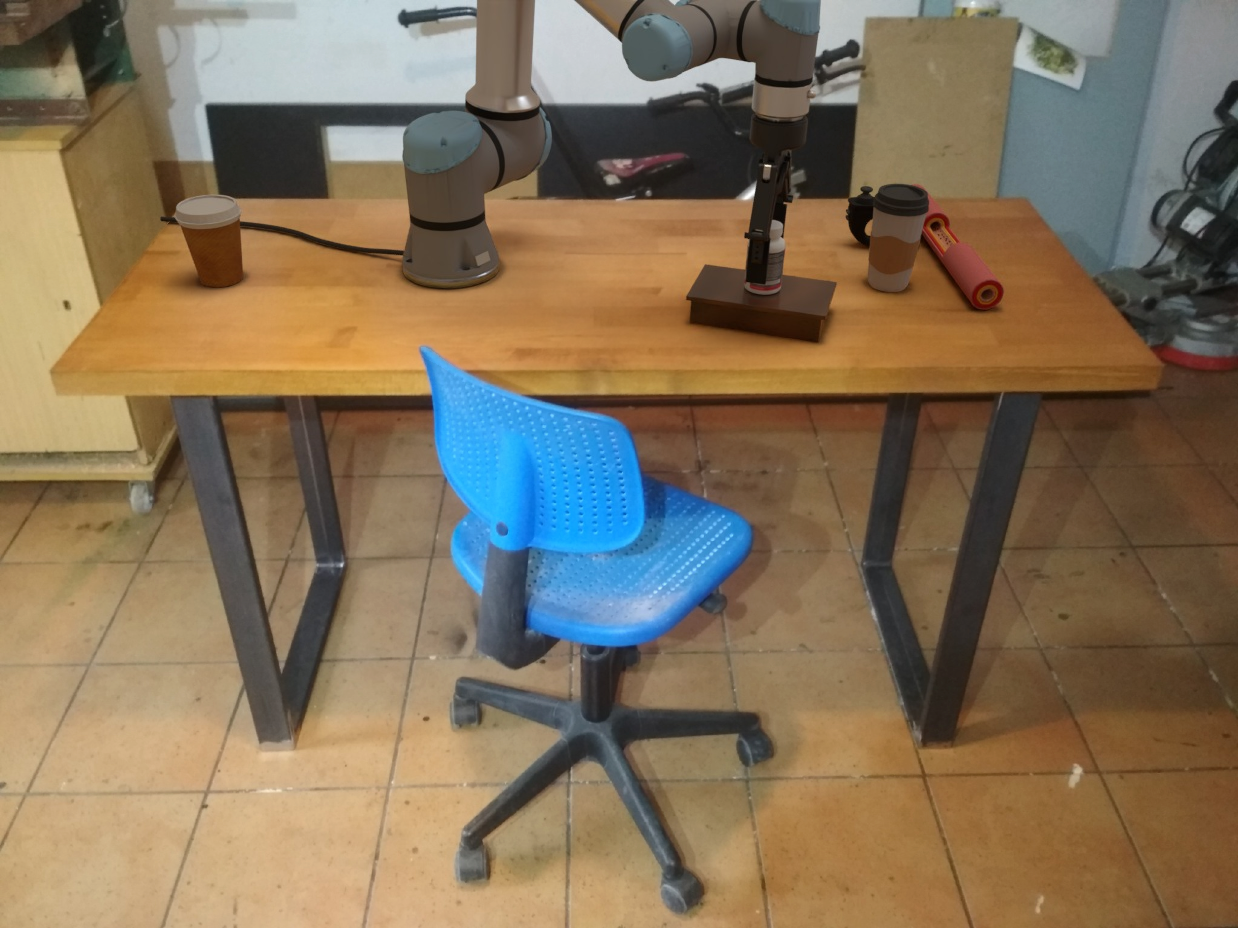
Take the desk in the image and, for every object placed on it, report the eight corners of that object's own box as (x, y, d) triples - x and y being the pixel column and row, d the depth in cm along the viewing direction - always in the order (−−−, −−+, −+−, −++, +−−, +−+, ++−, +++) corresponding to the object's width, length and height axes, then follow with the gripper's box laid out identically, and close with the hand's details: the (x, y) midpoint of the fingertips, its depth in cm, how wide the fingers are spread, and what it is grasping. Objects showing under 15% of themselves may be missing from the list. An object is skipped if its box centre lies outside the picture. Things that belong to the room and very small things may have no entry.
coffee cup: (919, 279, 169) (936, 188, 161) (908, 299, 163) (925, 205, 155) (867, 269, 172) (882, 179, 164) (854, 289, 166) (868, 196, 157)
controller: (839, 240, 182) (847, 183, 177) (909, 239, 183) (919, 183, 178) (845, 250, 179) (853, 192, 173) (917, 249, 180) (927, 192, 174)
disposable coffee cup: (265, 279, 165) (252, 204, 159) (209, 297, 159) (193, 221, 153) (233, 261, 171) (219, 189, 164) (178, 279, 165) (160, 204, 158)
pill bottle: (788, 290, 154) (796, 226, 149) (760, 299, 152) (766, 234, 146) (764, 277, 158) (770, 214, 152) (736, 285, 155) (741, 221, 150)
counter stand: (684, 324, 155) (686, 296, 152) (703, 291, 164) (705, 264, 162) (821, 344, 150) (825, 315, 148) (832, 309, 160) (836, 282, 157)
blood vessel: (897, 210, 195) (901, 183, 192) (923, 210, 195) (928, 183, 192) (967, 310, 160) (974, 279, 157) (1000, 310, 160) (1007, 279, 158)
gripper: (793, 144, 130) (775, 303, 142) (821, 93, 150) (803, 235, 162) (733, 138, 132) (720, 295, 143) (768, 88, 151) (755, 229, 163)
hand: (764, 264), depth 153 cm, fingers open, 13 cm apart
